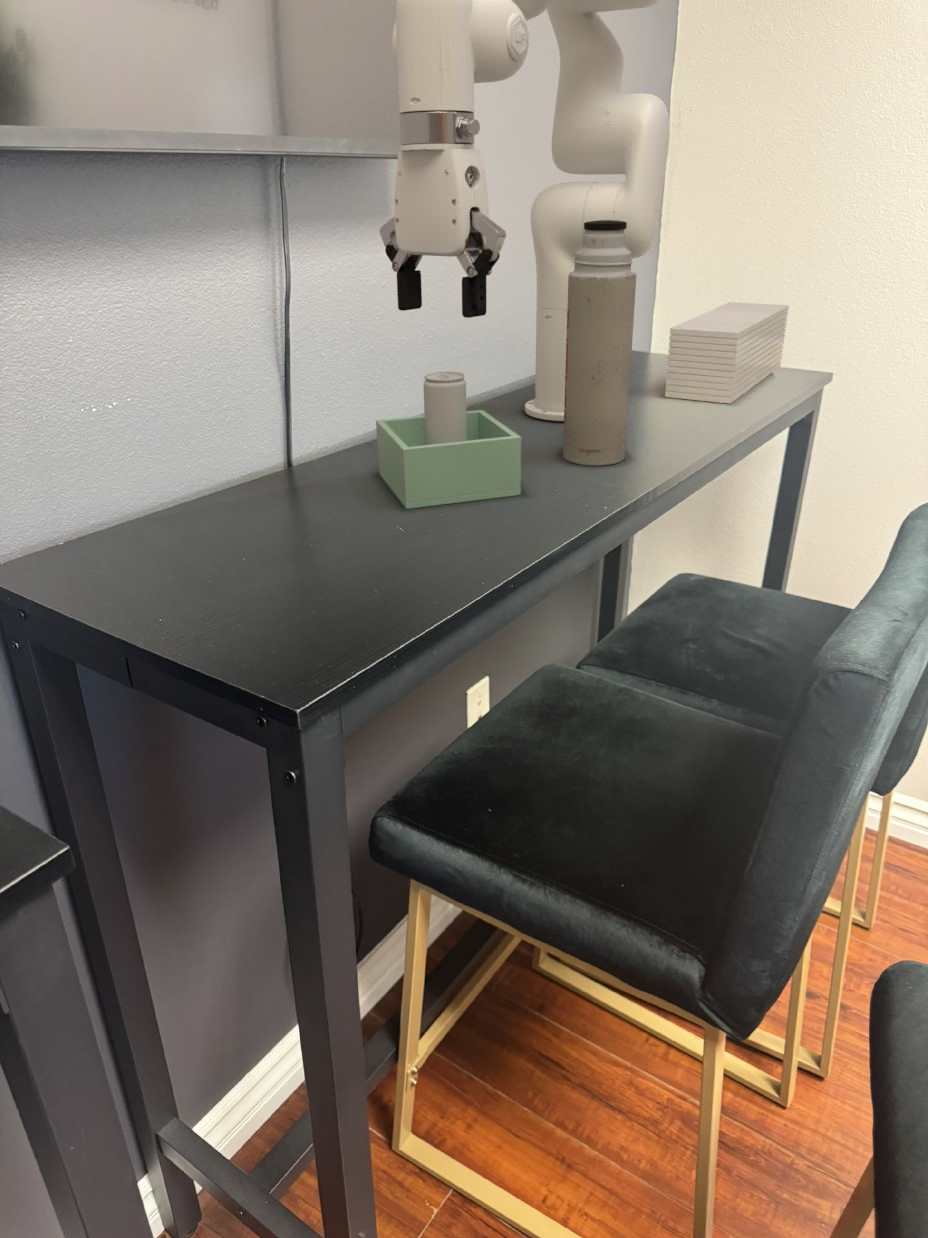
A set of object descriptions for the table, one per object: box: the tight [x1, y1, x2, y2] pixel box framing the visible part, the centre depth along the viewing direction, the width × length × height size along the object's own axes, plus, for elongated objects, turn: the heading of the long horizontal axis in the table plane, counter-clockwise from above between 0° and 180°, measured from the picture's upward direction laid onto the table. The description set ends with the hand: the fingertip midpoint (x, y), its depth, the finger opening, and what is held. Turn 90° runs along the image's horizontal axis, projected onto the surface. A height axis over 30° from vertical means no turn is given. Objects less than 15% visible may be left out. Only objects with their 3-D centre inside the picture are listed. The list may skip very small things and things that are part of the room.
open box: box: [375, 409, 522, 510], centre depth 106 cm, size 14×14×7 cm
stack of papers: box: [664, 301, 790, 404], centre depth 152 cm, size 32×11×11 cm, turn 149°
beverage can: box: [423, 371, 467, 445], centre depth 104 cm, size 5×5×12 cm
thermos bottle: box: [562, 220, 637, 467], centre depth 110 cm, size 8×8×28 cm
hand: (441, 312), depth 98 cm, fingers open, 9 cm apart
